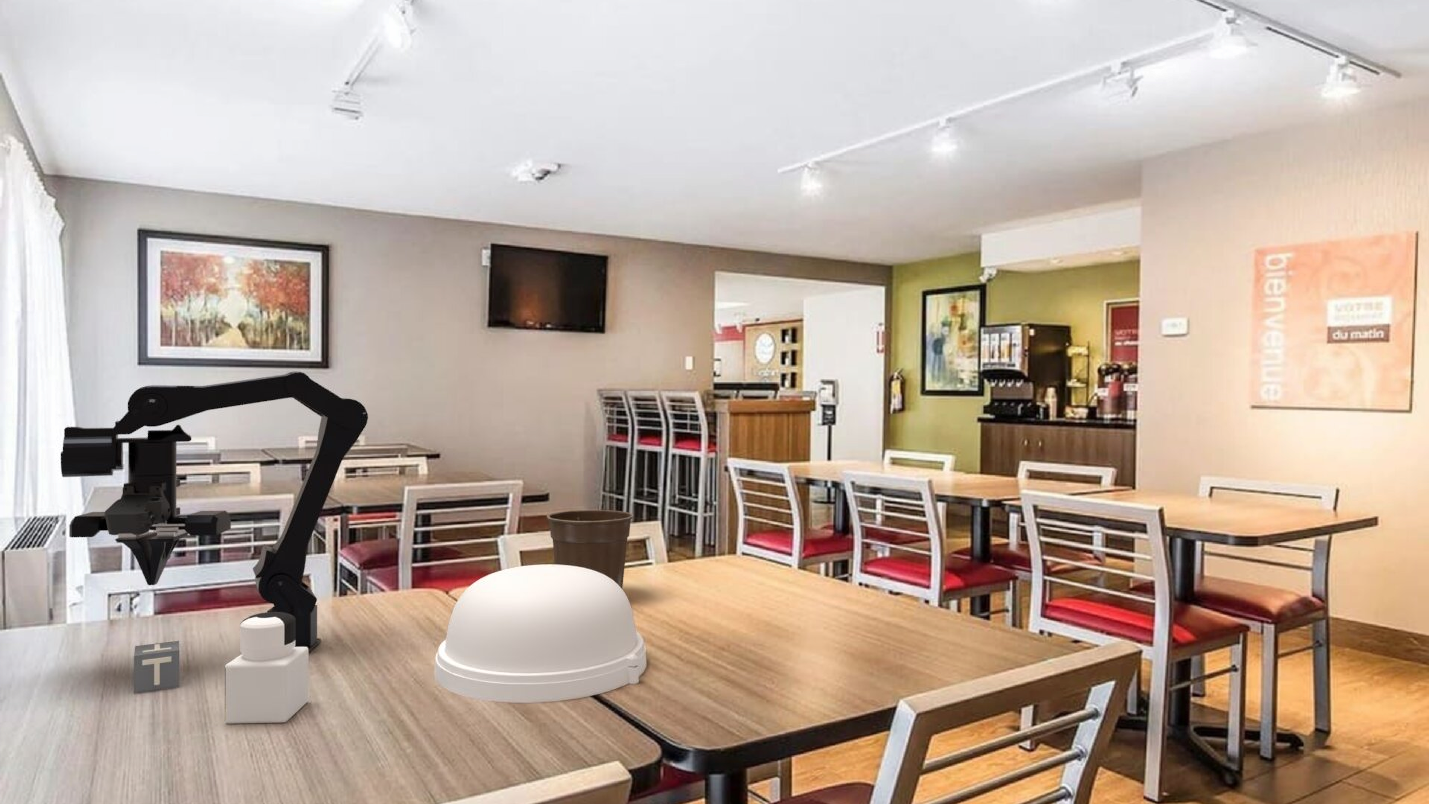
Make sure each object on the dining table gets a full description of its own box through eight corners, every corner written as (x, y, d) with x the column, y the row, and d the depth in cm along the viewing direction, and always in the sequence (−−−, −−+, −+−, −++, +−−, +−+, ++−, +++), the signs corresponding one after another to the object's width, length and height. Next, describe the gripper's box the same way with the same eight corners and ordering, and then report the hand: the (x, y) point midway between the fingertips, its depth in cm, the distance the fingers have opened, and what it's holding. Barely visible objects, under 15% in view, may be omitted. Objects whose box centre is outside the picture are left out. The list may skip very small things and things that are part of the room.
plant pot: (561, 587, 175) (562, 507, 175) (640, 591, 173) (641, 509, 172) (534, 608, 159) (534, 519, 158) (620, 612, 157) (621, 522, 156)
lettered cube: (135, 683, 117) (135, 645, 117) (178, 676, 120) (178, 639, 120) (133, 695, 113) (134, 655, 113) (179, 688, 116) (179, 649, 115)
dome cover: (688, 654, 133) (689, 562, 133) (574, 721, 106) (575, 606, 106) (520, 627, 147) (520, 544, 147) (381, 680, 120) (381, 578, 120)
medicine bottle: (250, 702, 110) (251, 608, 110) (309, 701, 111) (309, 607, 111) (223, 724, 103) (223, 623, 103) (286, 723, 104) (286, 623, 104)
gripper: (44, 480, 114) (44, 600, 114) (199, 480, 117) (199, 596, 117) (91, 472, 125) (91, 581, 125) (232, 471, 128) (232, 578, 128)
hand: (152, 584), depth 123 cm, fingers closed
